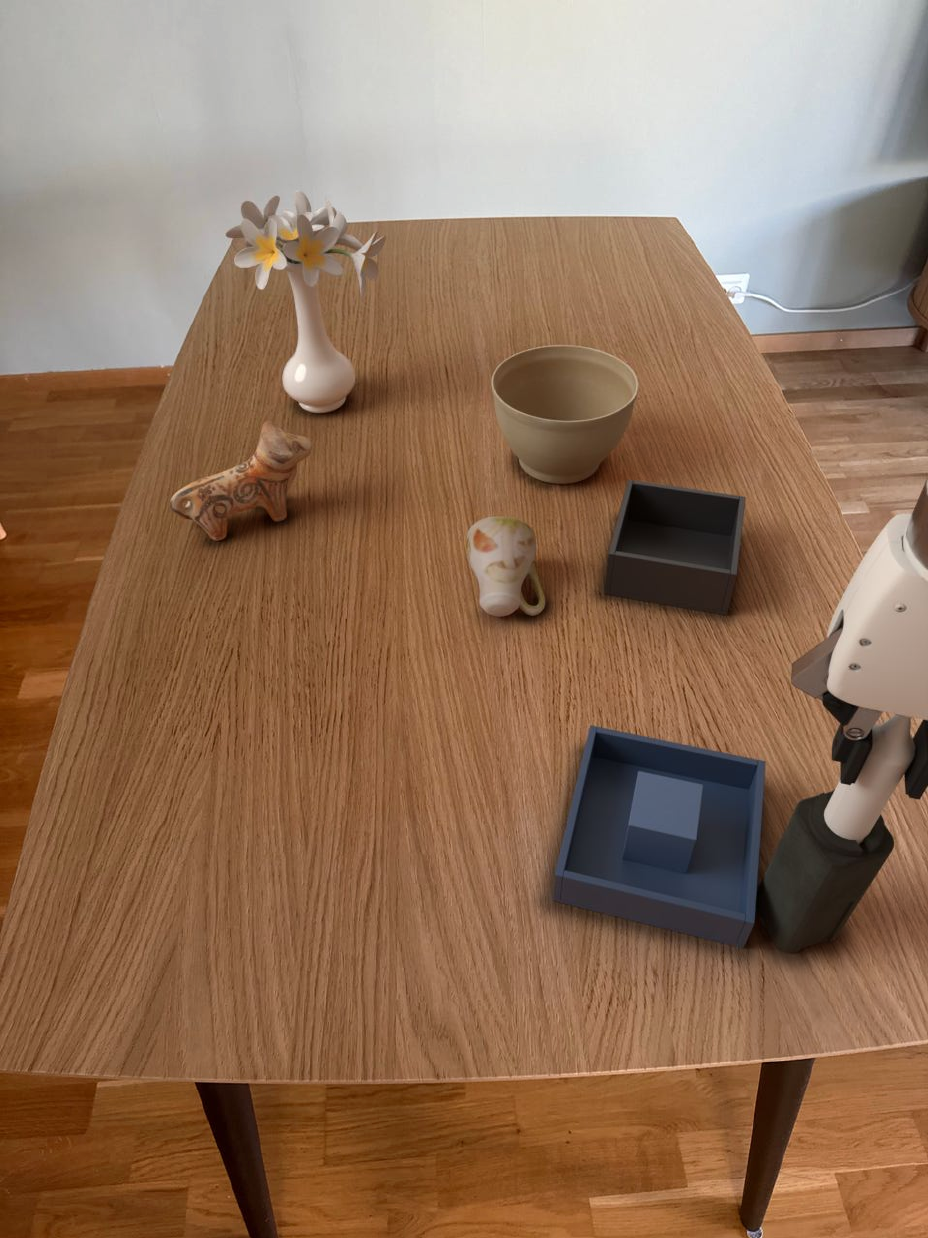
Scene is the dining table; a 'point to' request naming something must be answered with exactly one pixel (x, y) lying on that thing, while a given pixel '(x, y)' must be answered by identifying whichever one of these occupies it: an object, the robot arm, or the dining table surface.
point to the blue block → (663, 822)
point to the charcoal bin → (676, 547)
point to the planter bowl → (563, 409)
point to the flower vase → (306, 288)
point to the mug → (503, 564)
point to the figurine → (245, 483)
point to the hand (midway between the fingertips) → (879, 770)
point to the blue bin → (687, 903)
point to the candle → (834, 847)
